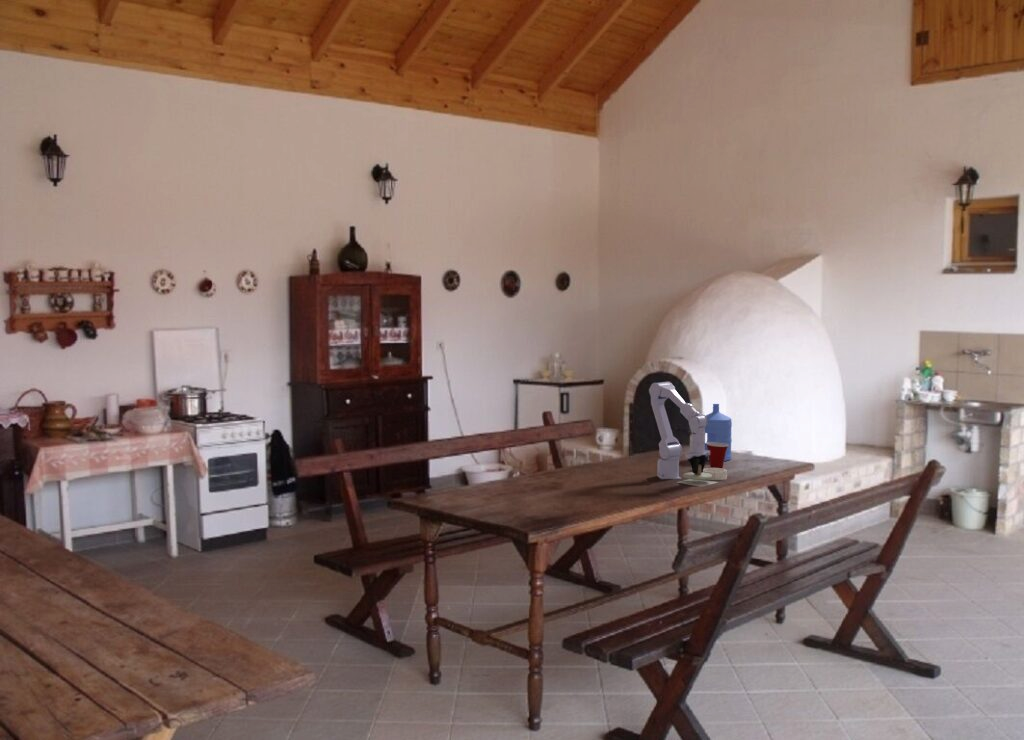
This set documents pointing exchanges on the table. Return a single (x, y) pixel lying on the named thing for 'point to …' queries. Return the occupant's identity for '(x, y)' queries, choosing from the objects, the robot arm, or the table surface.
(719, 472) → the white low cylinder
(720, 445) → the plastic cup
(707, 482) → the mat
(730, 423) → the water jug
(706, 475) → the lid
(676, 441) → the robot arm
